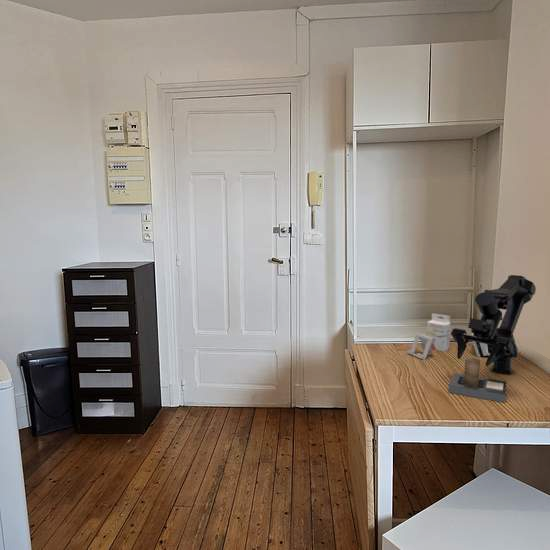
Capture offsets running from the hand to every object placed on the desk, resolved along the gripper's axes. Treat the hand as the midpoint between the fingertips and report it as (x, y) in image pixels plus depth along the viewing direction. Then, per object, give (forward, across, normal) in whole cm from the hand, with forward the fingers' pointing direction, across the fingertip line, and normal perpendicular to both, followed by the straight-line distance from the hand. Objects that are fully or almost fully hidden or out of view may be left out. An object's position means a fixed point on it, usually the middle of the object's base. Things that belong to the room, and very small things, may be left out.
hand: (472, 361), depth 135 cm
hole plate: (+6, +2, +7) cm, 10 cm away
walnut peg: (+7, 0, +7) cm, 9 cm away
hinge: (-23, -16, +37) cm, 46 cm away
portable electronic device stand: (-7, -29, +20) cm, 36 cm away
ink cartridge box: (-16, -30, +30) cm, 45 cm away
